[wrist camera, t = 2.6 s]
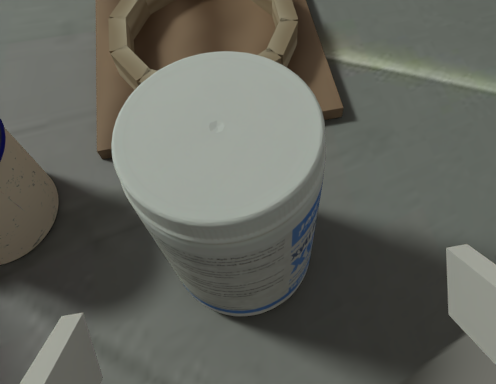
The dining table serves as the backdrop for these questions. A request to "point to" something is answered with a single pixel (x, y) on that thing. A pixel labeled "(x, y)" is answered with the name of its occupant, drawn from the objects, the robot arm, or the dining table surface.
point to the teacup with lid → (23, 200)
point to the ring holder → (201, 46)
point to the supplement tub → (226, 175)
